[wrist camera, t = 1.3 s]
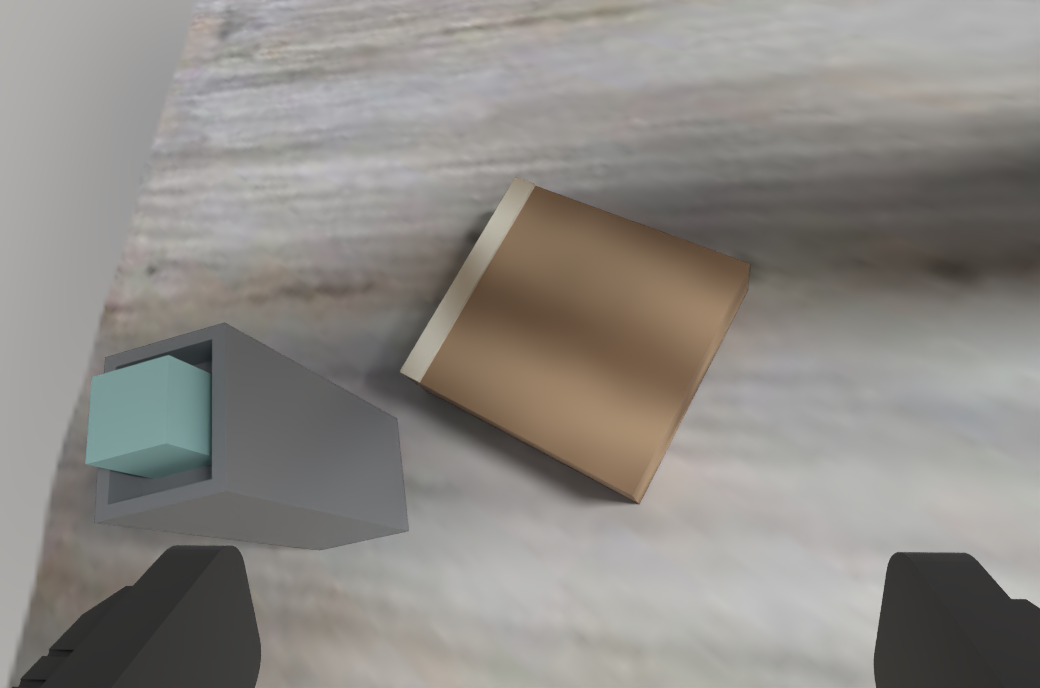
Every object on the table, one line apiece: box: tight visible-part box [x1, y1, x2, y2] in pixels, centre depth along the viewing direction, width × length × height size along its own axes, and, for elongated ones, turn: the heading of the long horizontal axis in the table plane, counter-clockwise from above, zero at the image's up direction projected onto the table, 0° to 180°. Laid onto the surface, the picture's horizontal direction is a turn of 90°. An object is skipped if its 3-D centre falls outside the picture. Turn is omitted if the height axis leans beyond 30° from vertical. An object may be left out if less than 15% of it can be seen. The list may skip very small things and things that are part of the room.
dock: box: [400, 177, 750, 504], centre depth 35 cm, size 12×13×3 cm
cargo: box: [85, 355, 212, 479], centre depth 24 cm, size 3×3×3 cm
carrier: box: [94, 323, 409, 550], centre depth 30 cm, size 6×5×14 cm
